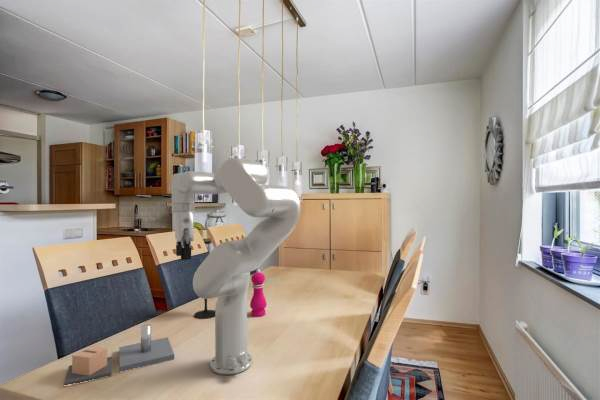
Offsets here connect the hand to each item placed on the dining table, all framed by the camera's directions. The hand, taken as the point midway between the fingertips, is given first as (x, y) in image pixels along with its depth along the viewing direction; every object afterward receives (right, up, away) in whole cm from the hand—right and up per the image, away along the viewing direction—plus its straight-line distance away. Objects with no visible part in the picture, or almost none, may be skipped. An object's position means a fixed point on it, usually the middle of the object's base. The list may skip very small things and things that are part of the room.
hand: (183, 257), depth 110 cm
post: (-9, -29, -8) cm, 31 cm away
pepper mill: (+22, -31, +29) cm, 48 cm away
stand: (-9, -30, -8) cm, 33 cm away
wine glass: (-1, -31, +29) cm, 42 cm away
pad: (-21, -30, -18) cm, 41 cm away
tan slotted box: (-21, -29, -18) cm, 40 cm away
